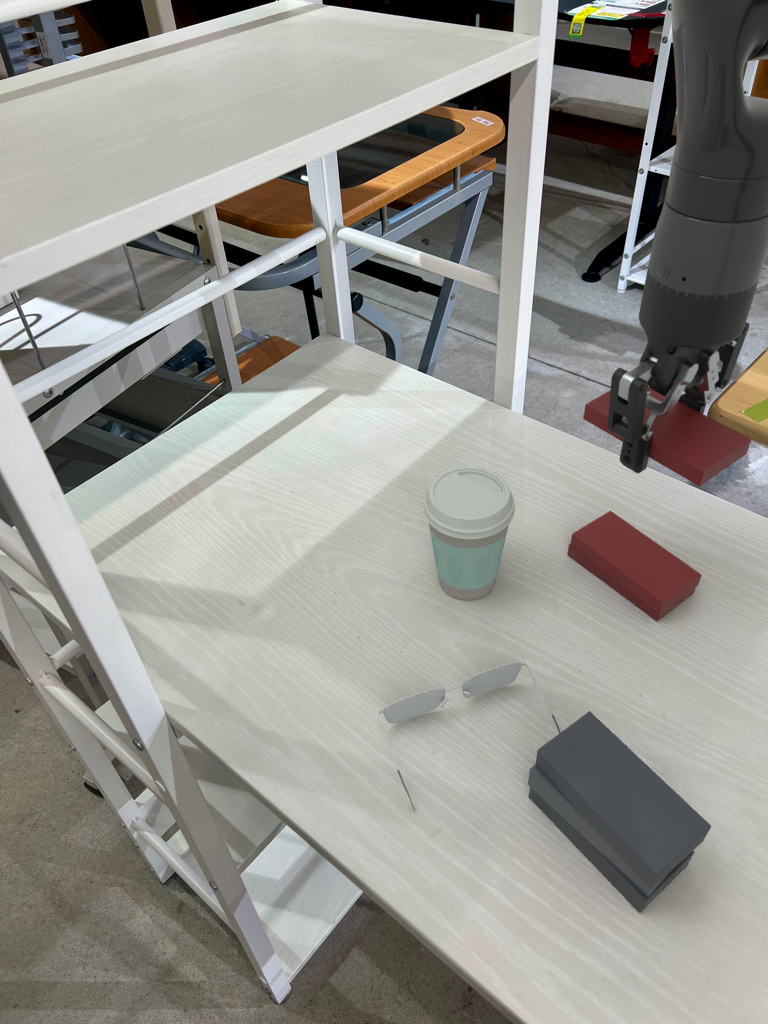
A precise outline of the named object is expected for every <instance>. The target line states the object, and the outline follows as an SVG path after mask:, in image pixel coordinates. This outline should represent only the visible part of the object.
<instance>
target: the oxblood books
mask: <svg viewBox="0 0 768 1024" xmlns="http://www.w3.org/2000/svg"><path fill="white" fill-rule="evenodd" d="M567 556H568V557H569V558H570V559H572V560H573V561H574V562H576V563H577V564H578V565H580V566H581V567H583V568H584V569H585V570H586V571H588V572H589V573H591V574H592V575H593V576H595V577H596V578H598V579H599V580H600V581H601V582H603V583H604V584H606V585H607V586H608V587H610V588H611V589H612V590H614V591H615V592H616V593H618V594H619V595H620V596H622V597H623V598H625V599H626V600H627V601H629V602H630V603H631V604H633V606H635V607H637V608H638V609H639V610H641V611H642V612H643V613H645V614H646V615H647V616H648V617H650V618H652V619H653V620H654V621H656V622H659V621H660V620H661V619H663V618H664V617H666V615H668V614H669V613H670V612H672V611H673V610H674V609H676V608H677V607H678V606H679V605H681V604H683V602H684V601H686V600H688V599H689V598H690V597H691V596H692V595H694V594H695V591H696V588H697V587H698V586H699V584H700V582H701V578H702V576H703V575H702V574H701V573H700V572H699V571H697V570H696V569H695V568H693V567H691V565H689V564H687V563H686V562H685V561H683V560H682V559H680V558H679V557H677V556H676V555H674V554H673V553H671V552H670V551H669V550H668V549H666V548H664V547H663V546H662V545H661V544H659V543H658V542H656V541H655V540H654V539H653V538H652V539H651V538H650V537H649V536H647V535H646V534H644V533H643V532H641V530H639V529H638V528H636V527H635V526H633V525H632V524H630V523H629V522H628V521H626V520H624V519H623V518H622V517H620V516H619V515H617V514H616V513H614V512H613V511H612V510H608V511H607V512H606V513H604V514H602V515H600V516H599V517H597V518H595V519H594V520H592V521H591V522H589V523H587V524H586V525H584V526H583V527H581V528H579V529H578V530H576V531H574V532H572V533H571V539H570V543H569V544H568V549H567Z"/></svg>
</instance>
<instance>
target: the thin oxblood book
mask: <svg viewBox="0 0 768 1024" xmlns="http://www.w3.org/2000/svg"><path fill="white" fill-rule="evenodd" d="M648 390H649V391H650V392H651V393H650V395H649V396H651V397H653V398H655V399H657V400H659V401H661V402H663V401H664V399H665V397H666V396H663V395H661V394H659V393H657V392H655V391H653V390H652V389H651V388H650V387H649V386H648ZM609 402H610V390H608V391H607V392H605V393H603V394H601V395H600V396H598V397H596V398H594V399H592V400H591V401H589V402H587V403H585V405H584V411H583V417H582V419H583V420H584V421H586V422H588V423H589V424H591V425H593V426H594V427H596V428H598V429H600V430H601V431H603V432H605V433H607V435H610V436H612V437H613V438H615V439H617V440H619V441H620V442H622V443H623V439H624V438H622V437H620V436H618V435H617V434H615V433H613V432H611V431H610V430H608V429H607V424H608V413H609ZM650 414H651V411H650V410H649V409H647V408H645V414H644V421H643V422H645V423H646V422H647V420H648V418H649V417H650ZM623 418H624V417H623ZM623 418H622V419H623ZM653 437H654V438H653V442H652V446H651V450H650V454H649V459H651V460H653V461H655V462H657V464H660V465H662V466H663V467H665V468H667V469H669V470H670V471H672V472H674V473H675V474H676V475H679V476H681V477H682V478H684V479H685V480H687V481H689V482H691V483H693V484H694V485H696V486H697V487H701V486H703V485H704V484H706V483H707V482H708V481H710V480H711V479H713V478H714V477H715V476H717V475H719V474H720V473H721V472H722V471H724V470H726V469H727V468H729V467H730V466H731V465H733V464H734V463H736V462H737V461H739V460H740V459H741V458H743V457H745V456H746V455H747V454H748V451H749V448H750V445H751V442H752V438H751V437H749V436H747V435H745V434H743V433H741V432H739V431H737V430H735V429H733V428H731V427H729V426H728V425H725V424H723V423H721V422H720V421H717V420H715V419H714V418H711V417H710V416H708V415H706V414H702V413H700V412H698V411H696V410H694V409H692V408H690V407H688V406H686V405H684V404H682V403H680V402H677V404H676V406H675V408H674V410H673V411H672V413H671V414H670V415H665V416H663V418H662V420H661V422H660V423H659V425H658V427H657V429H656V431H655V433H654V435H653Z"/></svg>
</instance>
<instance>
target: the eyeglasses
mask: <svg viewBox="0 0 768 1024" xmlns="http://www.w3.org/2000/svg"><path fill="white" fill-rule="evenodd" d="M522 666H526V668H527V670H528V672H529V674H530V676H531V678H532V680H533V682H534V685H536V688H537V690H538V692H539V694H540V696H541V698H542V699H543V701H544V703H545V705H546V707H547V709H548V711H549V713H550V715H551V718H552V720H553V722H554V724H555V727H556V729H557V732H558V734H559V733H561V730H560V727H559V724H558V722H557V720H556V717H555V715H554V714H553V711H552V710H551V707H550V706H549V704H548V702H547V700H546V698H545V696H544V694H543V692H542V690H541V688H540V685H539V683H538V681H537V679H536V677H535V675H534V673H533V671H532V669H531V667H530V665H529V664H528V663H527V662H526V661H523V662H521V661H514V662H509V663H505V664H502V665H498V666H495V667H492V668H488V669H485V670H484V671H480V672H478V673H475V674H473V675H471V676H469V677H468V678H466V679H465V680H464V681H463V682H462V683H461V684H458V685H457V686H454V687H451V688H447V689H445V688H444V687H436V688H435V687H434V688H431V689H426V690H423V691H421V692H420V691H419V692H416V693H414V694H411V695H409V696H406V697H403V698H401V699H398V700H396V701H393V702H391V703H389V704H387V705H386V706H385V707H384V708H383V709H381V710H378V711H377V714H376V715H377V720H378V723H379V725H380V727H381V730H382V733H383V736H384V738H385V741H386V744H387V746H388V748H389V751H390V754H391V757H392V760H393V762H394V765H395V768H396V772H397V774H398V776H399V778H400V781H401V784H402V785H403V788H404V791H405V792H406V794H407V797H408V799H409V801H410V804H411V806H412V809H413V811H414V812H416V809H415V807H414V804H413V801H412V798H411V795H410V794H409V791H408V788H407V786H406V784H405V782H404V779H403V777H402V774H401V772H400V769H399V767H398V764H397V762H396V759H395V756H394V753H393V750H392V748H391V744H390V742H389V739H388V736H387V734H386V731H385V728H384V725H383V722H382V719H381V717H380V716H381V715H380V714H383V716H384V719H385V720H386V721H387V722H388V723H389V724H394V725H395V724H399V723H403V722H406V721H408V720H409V721H410V720H412V719H415V718H417V717H420V716H423V715H425V714H428V713H431V712H433V711H434V710H436V709H437V708H438V707H439V706H440V705H441V704H442V705H441V706H440V707H441V708H442V709H443V708H444V707H445V705H446V703H447V702H448V700H449V697H447V696H446V694H447V693H446V692H449V691H453V690H456V689H458V688H460V687H461V690H462V695H463V697H464V698H466V699H469V700H470V699H472V698H474V697H479V696H482V695H484V694H488V693H491V692H494V691H497V690H500V689H502V688H505V687H507V686H509V685H510V684H512V683H513V682H514V681H515V680H517V677H518V675H519V674H520V671H521V669H522Z"/></svg>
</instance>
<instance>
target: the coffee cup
mask: <svg viewBox="0 0 768 1024" xmlns="http://www.w3.org/2000/svg"><path fill="white" fill-rule="evenodd" d="M422 511H423V515H424V517H425V519H426V521H427V522H428V528H429V533H430V539H431V540H430V541H431V546H432V549H433V550H432V551H433V557H434V562H435V567H436V572H437V578H438V584H439V585H440V587H441V589H442V590H443V591H444V593H446V594H448V595H449V596H451V597H453V598H455V599H458V600H461V601H462V600H463V601H472V600H473V601H474V600H477V599H480V598H483V597H485V596H486V595H488V594H489V593H490V592H491V591H492V590H493V589H494V587H495V584H496V581H497V577H498V573H499V569H500V564H501V560H502V556H503V552H504V547H505V542H506V539H507V534H508V531H509V527H510V523H511V522H512V521H513V519H514V516H515V513H516V506H515V498H514V495H513V493H512V492H511V489H510V486H509V484H508V482H507V481H506V480H505V478H503V477H502V475H500V474H499V473H497V472H496V471H493V470H491V469H488V468H486V467H481V466H476V465H463V466H456V467H452V468H449V469H446V470H444V471H443V472H441V473H440V474H438V475H437V476H435V477H434V479H433V480H432V481H431V483H430V485H429V487H428V489H427V491H426V493H425V495H424V499H423V504H422Z"/></svg>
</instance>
